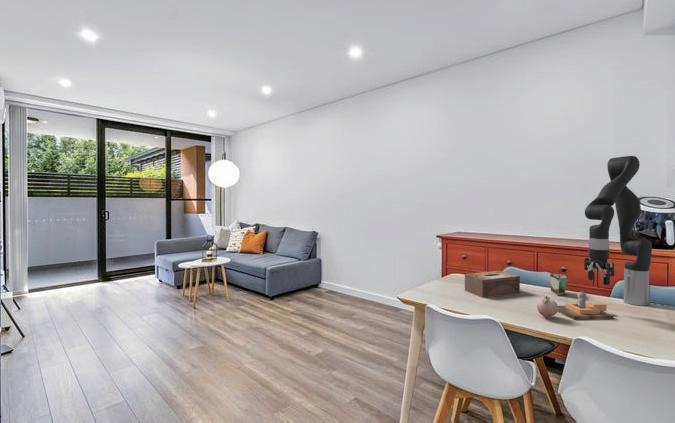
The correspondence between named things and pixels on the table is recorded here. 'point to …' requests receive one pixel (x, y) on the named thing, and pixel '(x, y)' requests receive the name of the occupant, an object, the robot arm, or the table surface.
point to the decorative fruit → (547, 307)
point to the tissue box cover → (492, 283)
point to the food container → (558, 284)
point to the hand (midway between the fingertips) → (598, 282)
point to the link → (587, 308)
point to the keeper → (582, 305)
